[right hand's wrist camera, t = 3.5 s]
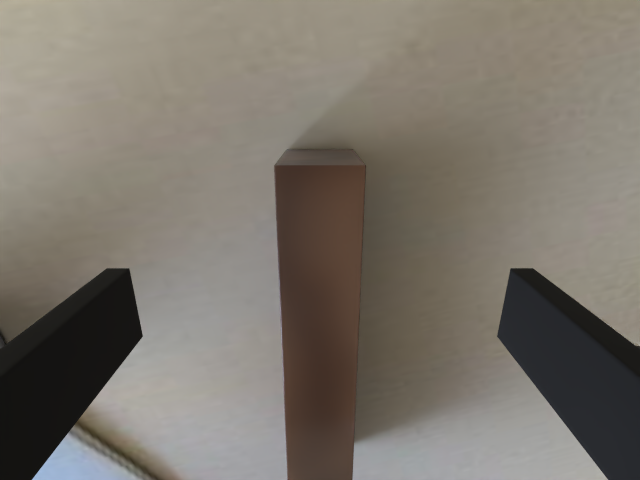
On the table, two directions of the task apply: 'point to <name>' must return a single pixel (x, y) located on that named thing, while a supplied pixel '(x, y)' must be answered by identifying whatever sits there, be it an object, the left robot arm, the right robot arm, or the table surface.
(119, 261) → the table surface
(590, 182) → the table surface
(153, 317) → the table surface
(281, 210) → the beam
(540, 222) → the table surface
